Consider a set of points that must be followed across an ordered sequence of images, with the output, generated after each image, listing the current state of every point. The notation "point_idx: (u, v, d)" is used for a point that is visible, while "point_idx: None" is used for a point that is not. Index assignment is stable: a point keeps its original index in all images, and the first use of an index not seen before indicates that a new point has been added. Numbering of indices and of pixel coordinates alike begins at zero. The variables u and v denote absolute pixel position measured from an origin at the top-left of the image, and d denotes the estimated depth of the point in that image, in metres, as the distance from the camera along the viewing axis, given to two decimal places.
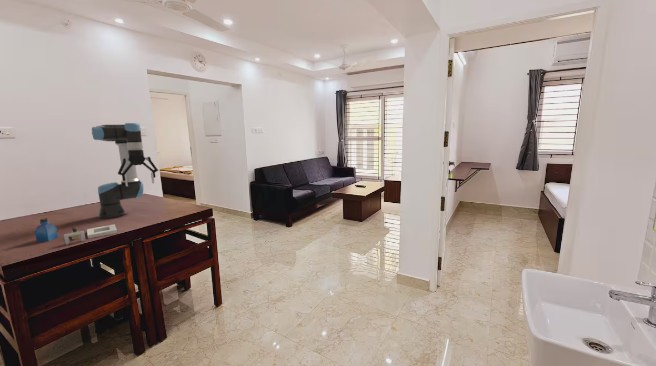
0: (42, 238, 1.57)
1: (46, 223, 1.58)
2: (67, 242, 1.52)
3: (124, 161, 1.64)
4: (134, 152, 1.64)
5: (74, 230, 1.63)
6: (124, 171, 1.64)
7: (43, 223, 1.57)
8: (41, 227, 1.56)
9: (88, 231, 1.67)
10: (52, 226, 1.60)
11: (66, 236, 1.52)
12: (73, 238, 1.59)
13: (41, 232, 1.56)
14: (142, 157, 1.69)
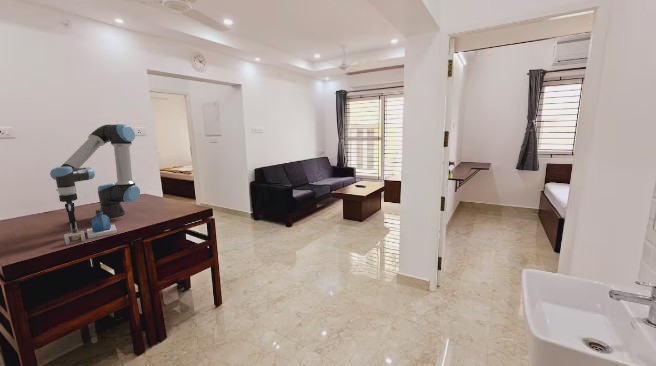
0: (98, 228, 1.66)
1: (101, 214, 1.67)
2: (67, 242, 1.52)
3: None
4: None
5: (74, 231, 1.62)
6: None
7: (98, 214, 1.66)
8: (97, 217, 1.66)
9: (88, 231, 1.67)
10: (106, 217, 1.69)
11: (66, 236, 1.52)
12: (73, 239, 1.58)
13: (97, 222, 1.65)
14: None
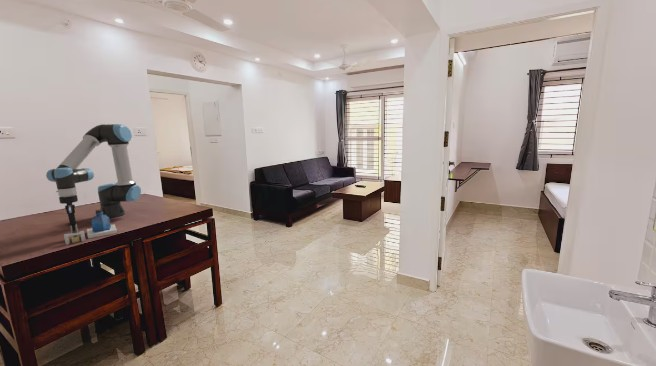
0: (98, 228, 1.66)
1: (101, 214, 1.67)
2: (67, 242, 1.52)
3: None
4: None
5: None
6: None
7: (98, 214, 1.66)
8: (97, 217, 1.66)
9: (88, 231, 1.67)
10: (106, 217, 1.69)
11: (66, 236, 1.52)
12: (73, 241, 1.54)
13: (97, 222, 1.65)
14: None
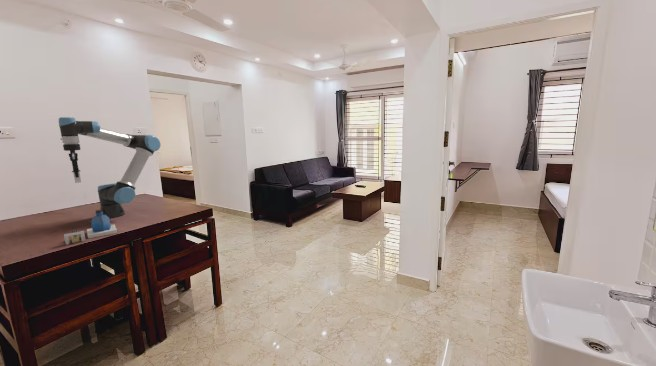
0: (98, 228, 1.66)
1: (101, 214, 1.67)
2: (67, 242, 1.52)
3: None
4: None
5: None
6: None
7: (98, 214, 1.66)
8: (97, 217, 1.66)
9: (88, 231, 1.67)
10: (106, 217, 1.69)
11: (66, 236, 1.52)
12: (73, 241, 1.54)
13: (97, 222, 1.65)
14: (70, 152, 1.67)
